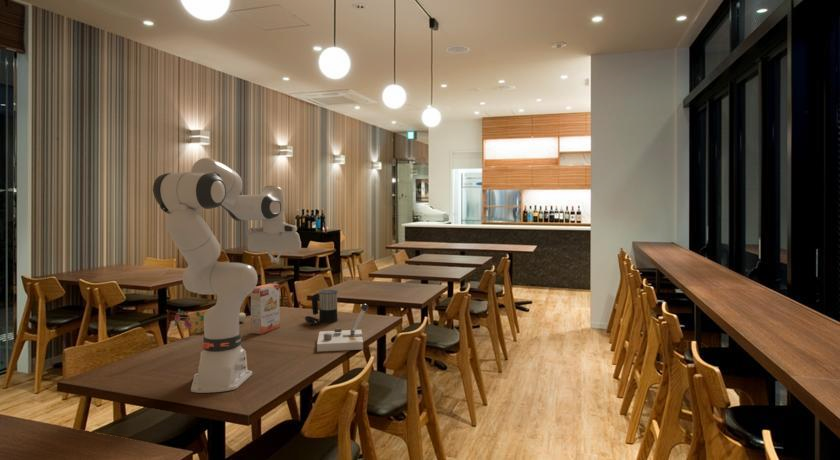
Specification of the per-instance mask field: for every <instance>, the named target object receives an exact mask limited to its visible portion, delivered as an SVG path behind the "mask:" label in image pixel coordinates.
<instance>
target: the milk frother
mask: <svg viewBox="0 0 840 460" xmlns="http://www.w3.org/2000/svg"><path fill="white" fill-rule="evenodd" d="M318 299H319V300H318ZM318 301H319V302H318ZM311 307H312V314H313V315H315V316H316V315H317V314H319V317H318V318H316V317H314V316H310V315H309V316H305V317H304V320H305V321H306V323H308V324H310V325H311V326H314V325H316V326H317V325H320V323H325V324H326V323H329V324H330V323H336V322H338V321H339V319H338V290H336V289H335V290H334V289H324V290H318V292H317V293H314V294H313V295H312V297H311Z"/></svg>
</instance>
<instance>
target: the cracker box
mask: <svg viewBox="0 0 840 460" xmlns="http://www.w3.org/2000/svg"><path fill="white" fill-rule="evenodd" d="M280 317H281V315H280V283H266V284H263V285H258V286H257V285H256V287H255V289H254V290H253V291H252V292H251V293H250V330H251V334H255V335H263V334H265V333H269V332H271V331H274V330H277V329H279V328H281V327H280V326H281V323H280Z"/></svg>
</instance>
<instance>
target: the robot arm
mask: <svg viewBox="0 0 840 460" xmlns="http://www.w3.org/2000/svg"><path fill="white" fill-rule="evenodd" d="M242 190H243V180H242V177H241V176H240V175H239V173H238V172H236V171H235V170H234V169H233V168H230V166H228V165H226V164H224V163H222V162H221V161H218V160H216V159H214V158H211V157H210V158H209V157H202V158H199V159H198V160H196V161H195V163H194V164H193V165H192V167H191V169H190V172H189V171H188V172H184V171H183V172H175V173H174V172H167V173H164V174H160V175H158V176H157V177H156V178H155V179H154V182H153V185H152V193H153V197H154V199H155V201H156V203H157V204H158V205H159V207H160V208H159V209H161V210H162V211H163V212H165V213H167V214H168V215H167V216H166V220H165V225H166V229H167V230H168V233H169V235H170V238H171V239H172V241H173V243H174V244H175V247H176V248H177V250H179V252H180V254H181V255H182V257H183V258H184V260H185V261H186V263H187V266H186V268H185V269H184V271H183V274H182V284H183V286H184V288H185V289H186V290H187V291H188V292H191V293H195V294H197V295H198V294H199V295H212V296H213V295H214V296H217V299H216V302H215V305H213V306H210V308H209V309H207V311H205V312H204V315H203V316H204V320H203V321H204V322H203V328H204V329H203V334H204V336H203V339H202V345H201V346H202V349H203V350H201V352H200V358H199V365H198V366H197V368H196V369H197V373H195V374H194V375H193V380H192V383H191V387H190V392H192V393H198V394H199V393H201V394H205V393H208V394H210V393H221V392H229V391H233V390H236V389H238V388H239V387H240V386H241V385H242V384H243V383H244V382H246V381H247V379H249V378H250V377H251V376H252V375H253V371H252V370H249V369H248V363H247V361H248V360H247V351H246V350H245V349H244V348H243V347H242V346H241V344H242V335H241V334H242V333H240V322H239V313H241V308H242V305H243V302H244V301H245V299H246V298H247V297H248V296H249V295H251V292H252V291H253V290H254V289H255V287H257V284H258V273H257V271H256V269H255V267H254V266H252V265H250V264H247V263H242V262H230V261H229V262H224V261H223V262H222V261H218V259H219V258H220V255H221V253H222V252H221V250H222V247H221V244H220V243H219V241H218V239H217V238H216V236H215V234H214V233H213V231H212V230H211V228H210V227H209V225H208V223H207V222H206V221H205V220H204V218H203V217H202V212H201V210H202V209H206V210H210V209H217V208H218V207H222V208H223V209H224V210H225V211H226V212H227V213H228V215H229V216H230V217H231V218H232V219H233V220H234V221H236V222H239V221H241V222H242V221H261V222H262V223H261V224H262V226H261V227H251V228H249V229H248V230H247V232H246V237H247V250H248V251H249V252H267V255H268V257H269V258H270V263H279V262H280V257H281V256H282V253H283V251H300V250H301V247H302V244H301V238H300V234H299V233H298V232H297V231H298V226H297V225H293V224H291V223H288V222H286V217H285V211H286V199H285V194H284V190H283V188H281V187H279V186H275V185H266V186H263V188H262V192H260V193H258V194H241V193H242ZM273 252H277V254H278V255H277V257H273V255H272V254H273Z"/></svg>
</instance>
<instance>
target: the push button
mask: <svg viewBox="0 0 840 460" xmlns="http://www.w3.org/2000/svg"><path fill="white" fill-rule="evenodd" d="M330 339H332V334H330V333H327V334H324V340H330Z"/></svg>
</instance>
